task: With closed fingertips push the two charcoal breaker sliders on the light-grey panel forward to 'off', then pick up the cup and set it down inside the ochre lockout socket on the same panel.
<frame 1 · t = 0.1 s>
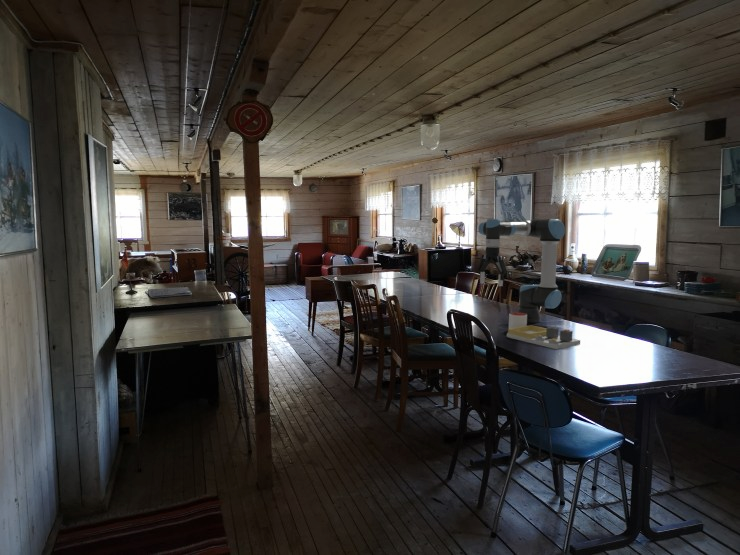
hand: (491, 284, 295), 28 cm above the table, fingers open, 13 cm apart
panel: (542, 340, 283), on the table
cup: (517, 331, 306), on the table
breaker A: (552, 331, 280), point 5 cm above the table, slide at 0.0 cm
breaker B: (566, 335, 273), point 5 cm above the table, slide at 0.0 cm
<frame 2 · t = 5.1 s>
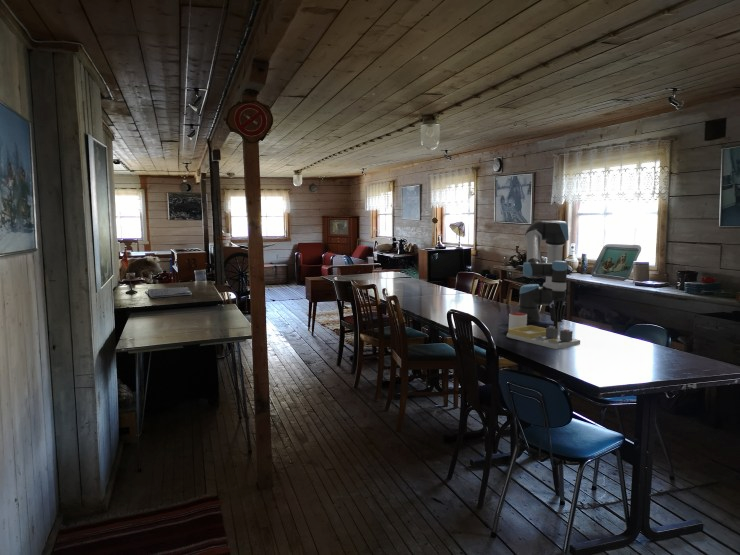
hand: (556, 333, 282), 4 cm above the table, fingers closed
breaker A: (551, 331, 280), point 5 cm above the table, slide at 0.4 cm, touching gripper
everything else where it was.
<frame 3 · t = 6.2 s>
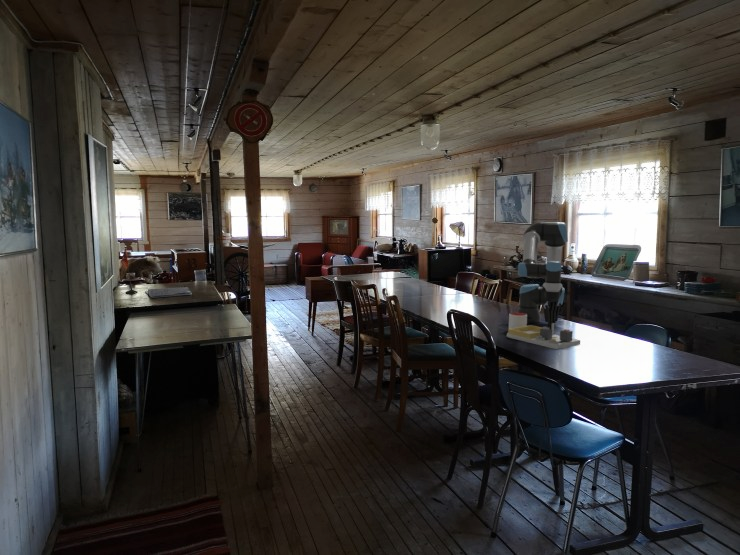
hand: (550, 334, 279), 4 cm above the table, fingers closed
breaker A: (546, 332, 277), point 5 cm above the table, slide at 5.1 cm, touching gripper
everything else where it was.
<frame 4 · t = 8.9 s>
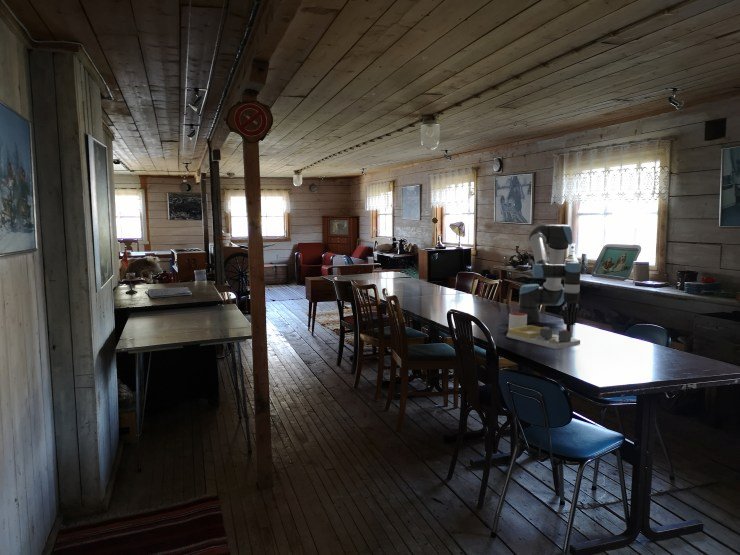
hand: (569, 336, 274), 4 cm above the table, fingers closed
breaker A: (546, 332, 277), point 5 cm above the table, slide at 5.0 cm
breaker B: (564, 335, 272), point 5 cm above the table, slide at 1.2 cm, touching gripper
everything else where it was.
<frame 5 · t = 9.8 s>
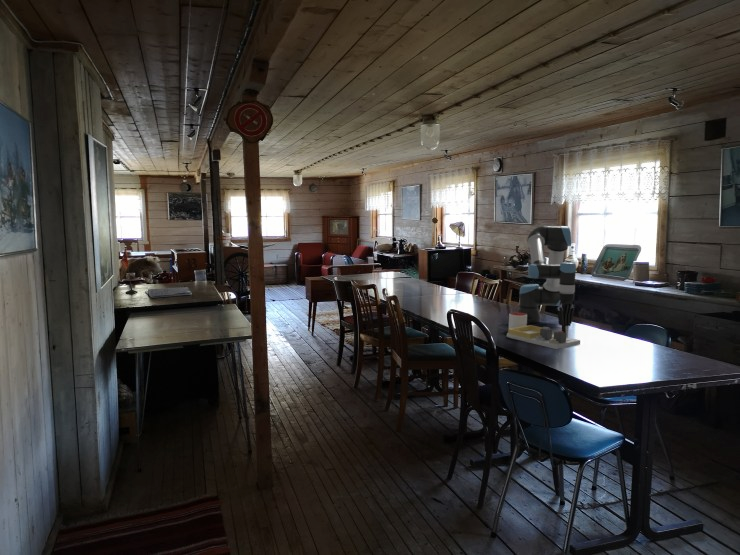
hand: (564, 337, 272), 4 cm above the table, fingers closed
breaker B: (560, 336, 270), point 5 cm above the table, slide at 5.1 cm, touching gripper
everything else where it was.
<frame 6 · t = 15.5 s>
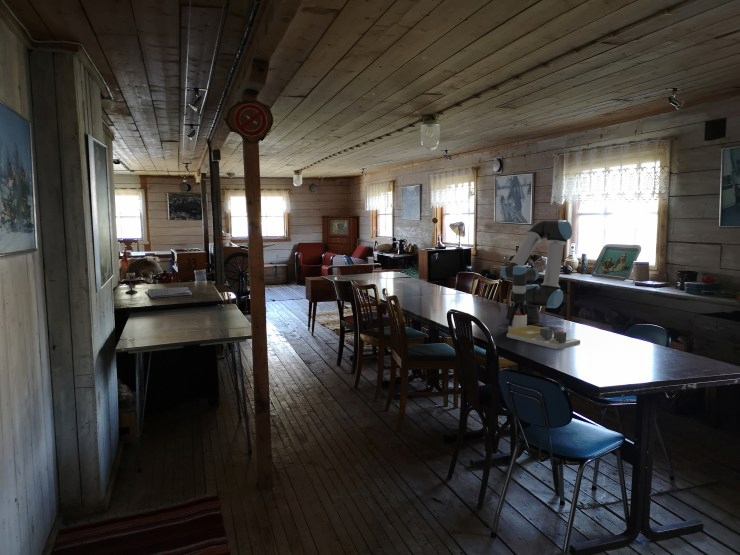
hand: (517, 330, 306), 0 cm above the table, fingers closed on cup, 10 cm apart
cup: (517, 331, 306), on the table, touching gripper
breaker B: (560, 336, 270), point 5 cm above the table, slide at 5.0 cm
everything else where it was.
when the fingers open (4 cm above the table, at t = 20.6 s): cup drops 1 cm, resting on panel.
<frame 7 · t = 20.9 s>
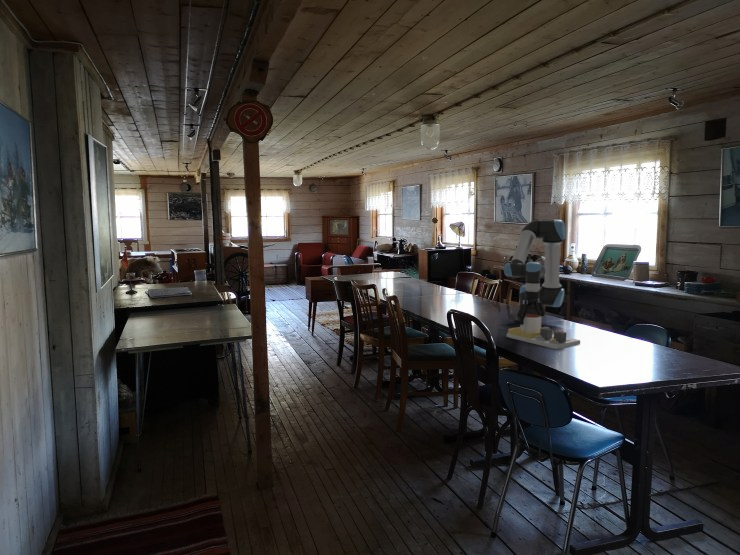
hand: (530, 329, 289), 5 cm above the table, fingers open, 13 cm apart
cup: (530, 334, 290), point 2 cm above the table, touching panel
everything else where it was.
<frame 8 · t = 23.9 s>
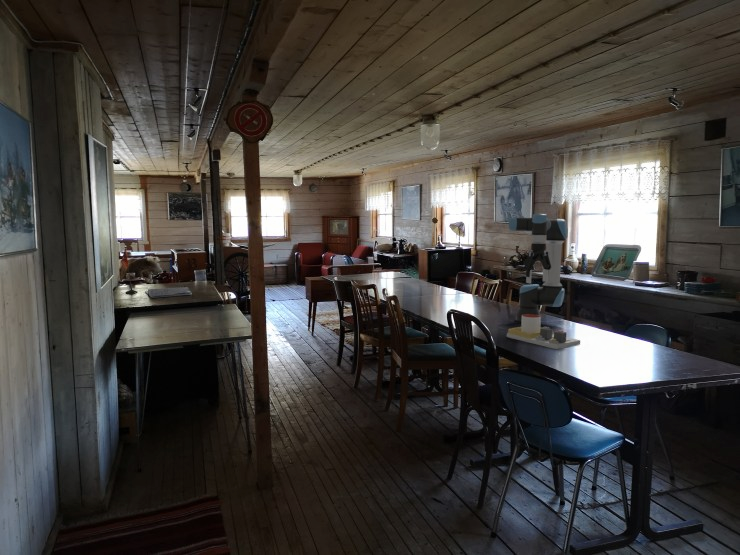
hand: (536, 282, 285), 31 cm above the table, fingers open, 13 cm apart
nothing on the table moved.
at the end: breaker A slide at 5.0 cm; breaker B slide at 5.0 cm; cup inside the target area on the panel (0.1 cm from its centre), point 1.8 cm above the panel's base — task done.
